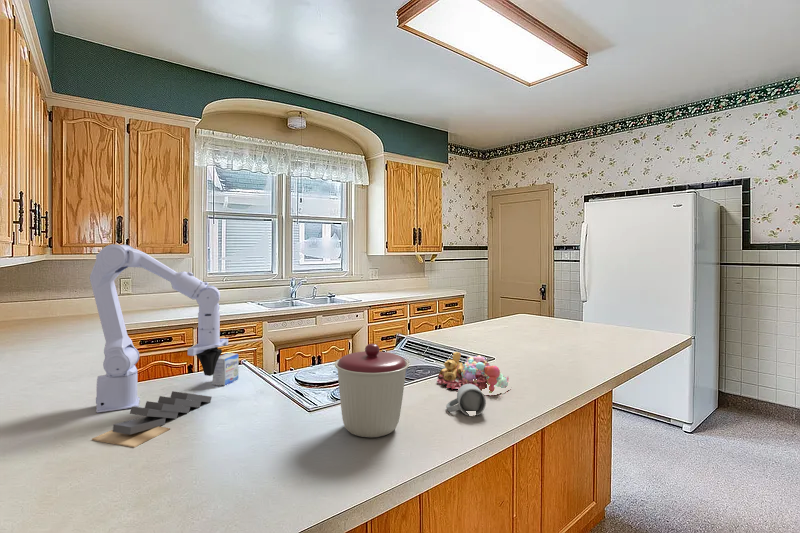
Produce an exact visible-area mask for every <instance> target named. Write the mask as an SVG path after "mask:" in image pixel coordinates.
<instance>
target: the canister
mask: <svg viewBox="0 0 800 533" xmlns="http://www.w3.org/2000/svg"><path fill="white" fill-rule="evenodd" d="M409 366H410V363H409V361H408V360H407V359H405V358H403V357H402V356H400V355H398V354H395V353H392V352H387V351H380V346H379V345H377V343H368V344H366V346H365V348H364V351H357V352H350V353H348V354H344V355H343V356H342V357H340V358H339V359H337V360H336V361H335V362H334V368H336V369H337V379H338V380H337V381H338V391H339V400H340V409H341V416H342V418H341V419H342V422H343V425H344V427H345V429H346V430H347V431H348V432H349V433H351V434H352V435H354V436H357V437H361V438H379V437H384V436H386V435H387V436H388V435H389V434H391V433H392V432H394V431H395V430H396V428H397V426H398V424H399V421H400V417H401V411H402V405H403V404H402V403H403V398H404V397H403V396H404V388H405V382H406V381H405V380H406V372H407V369H408V368H409Z"/></svg>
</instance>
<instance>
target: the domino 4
mask: <svg viewBox="0 0 800 533" xmlns="http://www.w3.org/2000/svg"><path fill="white" fill-rule="evenodd" d="M170 397H171V396H161V395H159V398H158V401H157V403H165V404H172V405H180V406H188V407H190V408H197V409H198V408H200V407H201V404H202V401H194V400H185V399H178V398H170Z"/></svg>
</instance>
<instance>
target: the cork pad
mask: <svg viewBox="0 0 800 533" xmlns="http://www.w3.org/2000/svg"><path fill="white" fill-rule="evenodd" d="M169 430H171V428H170V427H165V426H158V427H154V428H151V429H148V430H144V431H141V432H137V433H134V434H131V435H129V434H123V433H117V432H113V429H110V430H109V431H106V432H103V433H102V434H99V435H97V436H95V437H93V438H91V441H96V442H102V443H107V444H112V445H119V446H124V447H129V448H136V447H138V446H140V445H142V444H145V443H146V442H148V441H150V440H152V439H154V438H156V437H158V436H160V435H162V434H164V433H166V432H168V431H169Z"/></svg>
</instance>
